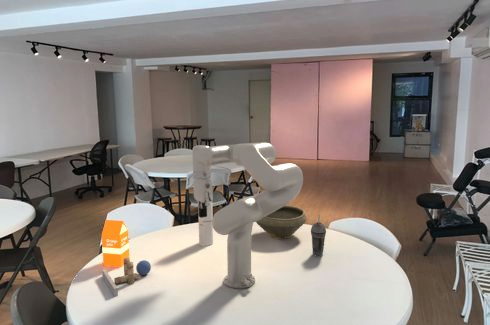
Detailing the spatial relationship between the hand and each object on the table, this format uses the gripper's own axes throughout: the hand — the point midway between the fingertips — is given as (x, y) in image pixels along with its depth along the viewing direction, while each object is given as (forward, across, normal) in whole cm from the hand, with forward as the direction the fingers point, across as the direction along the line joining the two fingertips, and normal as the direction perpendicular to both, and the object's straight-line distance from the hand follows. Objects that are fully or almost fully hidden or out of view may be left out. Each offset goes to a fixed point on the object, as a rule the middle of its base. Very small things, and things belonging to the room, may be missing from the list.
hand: (202, 216), depth 167 cm
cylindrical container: (+23, +26, -14) cm, 38 cm away
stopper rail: (+23, +5, +39) cm, 46 cm away
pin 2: (+23, +2, +31) cm, 39 cm away
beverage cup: (+23, -16, -52) cm, 59 cm away
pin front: (+22, +5, +28) cm, 36 cm away
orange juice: (+23, +26, +31) cm, 47 cm away
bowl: (+23, +15, -53) cm, 60 cm away
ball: (+20, +8, +24) cm, 33 cm away
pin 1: (+23, +8, +31) cm, 40 cm away
